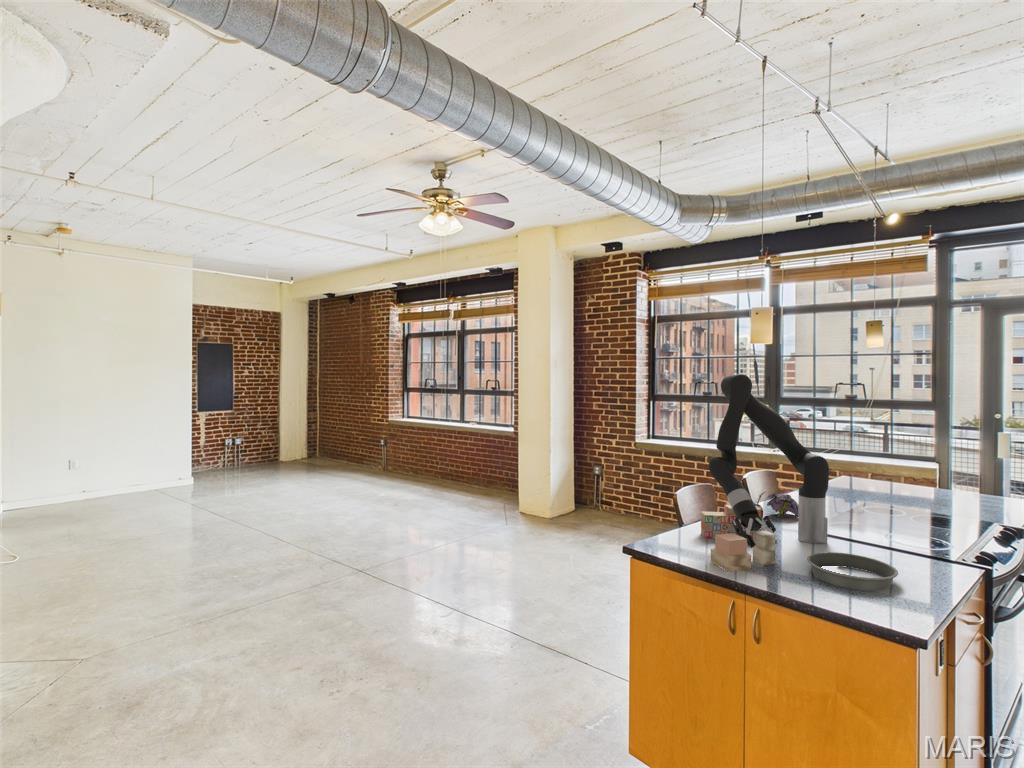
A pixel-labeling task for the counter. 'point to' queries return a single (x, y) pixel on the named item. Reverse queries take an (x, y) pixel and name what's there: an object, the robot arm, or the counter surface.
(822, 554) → the cake pan
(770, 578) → the counter surface
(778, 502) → the decorative flower
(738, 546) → the tower top
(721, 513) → the stack of blocks
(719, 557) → the tower base
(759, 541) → the pillar
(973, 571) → the counter surface
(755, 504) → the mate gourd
